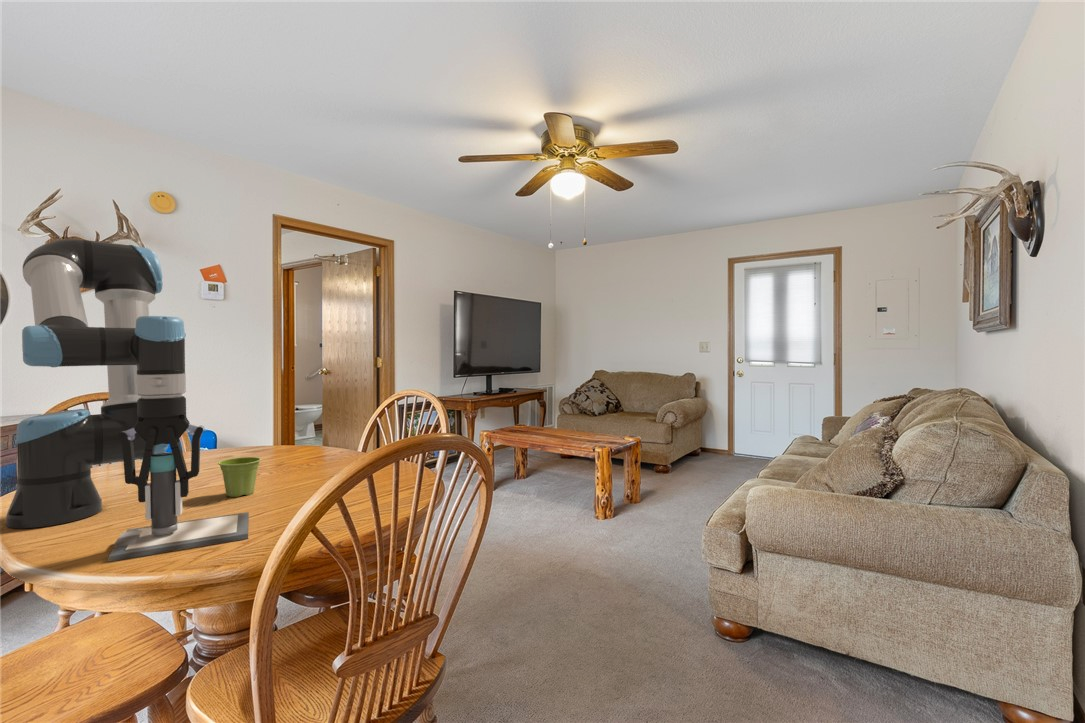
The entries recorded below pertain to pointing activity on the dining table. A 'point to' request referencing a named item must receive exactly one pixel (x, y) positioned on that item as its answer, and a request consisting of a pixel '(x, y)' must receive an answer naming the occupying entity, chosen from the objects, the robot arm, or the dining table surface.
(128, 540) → the clipboard
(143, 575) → the dining table surface
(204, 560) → the dining table surface
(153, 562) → the dining table surface
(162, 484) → the marker
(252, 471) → the plant pot
